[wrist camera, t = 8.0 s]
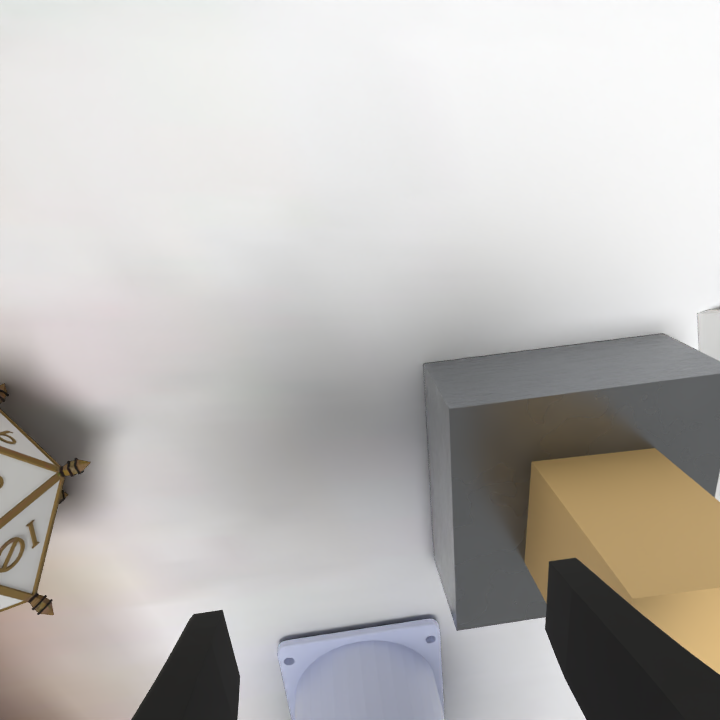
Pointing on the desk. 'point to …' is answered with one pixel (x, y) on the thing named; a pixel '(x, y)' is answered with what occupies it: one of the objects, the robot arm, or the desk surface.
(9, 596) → the game die
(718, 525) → the ochre block
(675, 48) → the desk surface
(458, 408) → the charcoal stand
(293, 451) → the desk surface
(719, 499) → the grey v-shaped trough
